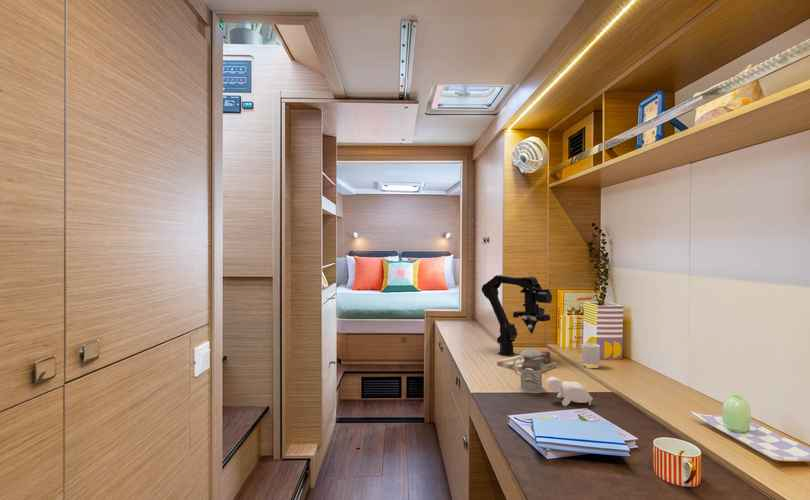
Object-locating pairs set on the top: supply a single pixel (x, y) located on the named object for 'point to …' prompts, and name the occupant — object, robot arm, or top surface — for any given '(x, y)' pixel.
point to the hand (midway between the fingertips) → (531, 333)
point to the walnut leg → (543, 354)
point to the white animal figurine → (569, 391)
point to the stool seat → (518, 364)
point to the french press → (530, 372)
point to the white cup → (590, 353)
